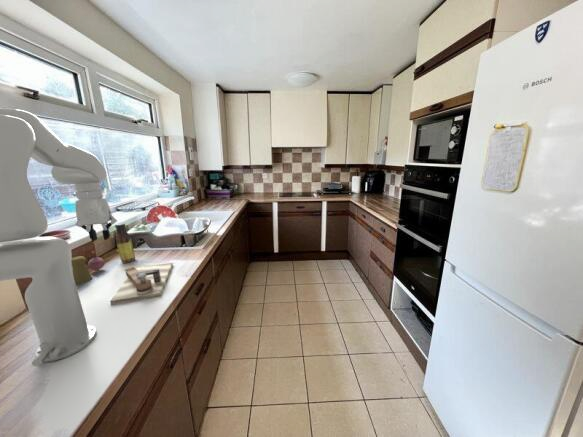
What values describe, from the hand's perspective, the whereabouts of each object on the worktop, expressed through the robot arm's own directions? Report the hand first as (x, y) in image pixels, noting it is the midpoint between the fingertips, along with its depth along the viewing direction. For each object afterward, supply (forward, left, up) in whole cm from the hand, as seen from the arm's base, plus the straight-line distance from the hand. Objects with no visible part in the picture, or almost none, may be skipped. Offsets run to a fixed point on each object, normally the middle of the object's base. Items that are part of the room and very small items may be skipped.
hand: (100, 239), depth 96 cm
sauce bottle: (+22, 0, -19) cm, 29 cm away
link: (-9, -13, -17) cm, 23 cm away
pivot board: (-6, -15, -19) cm, 25 cm away
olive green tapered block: (+5, +12, -19) cm, 23 cm away
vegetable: (+14, +10, -19) cm, 26 cm away
